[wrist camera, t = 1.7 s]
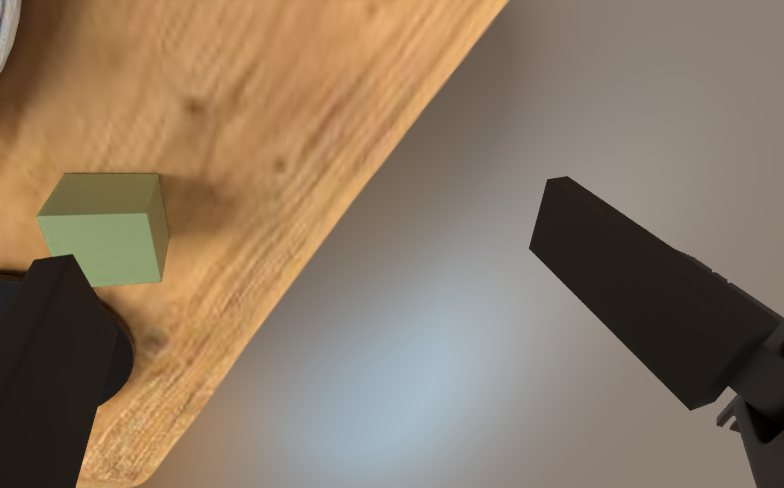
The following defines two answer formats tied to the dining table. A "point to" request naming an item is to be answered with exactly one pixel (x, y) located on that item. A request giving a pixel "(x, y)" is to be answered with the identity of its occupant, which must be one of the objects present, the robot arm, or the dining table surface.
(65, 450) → the robot arm
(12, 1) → the ceramic plate
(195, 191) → the dining table surface
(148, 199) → the block
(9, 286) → the lid
